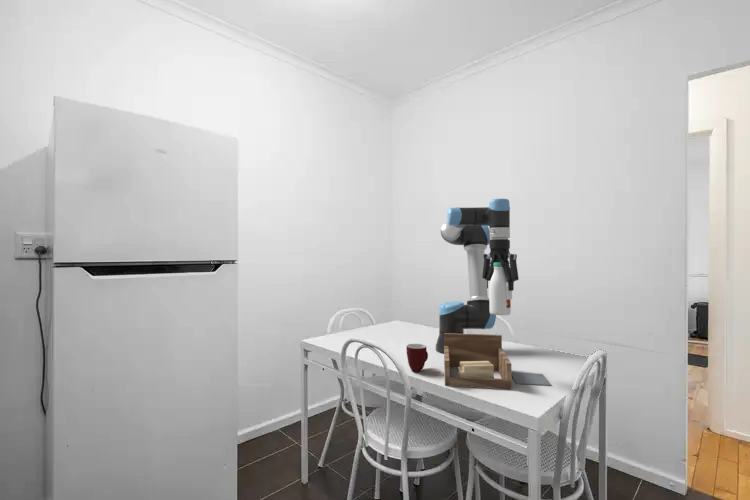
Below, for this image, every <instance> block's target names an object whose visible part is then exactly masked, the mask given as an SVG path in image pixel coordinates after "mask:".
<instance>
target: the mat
mask: <svg viewBox="0 0 750 500" xmlns="http://www.w3.org/2000/svg"><path fill="white" fill-rule="evenodd" d="M511 378H512V380H514V382H515V384H516V385H527V386H544V387H545V386H548V387H552V383H551V382H550V381H549V380H548V378H547V377H546V376H545V375H544V374H543V373H536V372H535V373H534V372H533V373H531V372H512V371H511Z"/></svg>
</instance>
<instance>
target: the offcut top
mask: <svg viewBox="0 0 750 500" xmlns="http://www.w3.org/2000/svg"><path fill="white" fill-rule="evenodd" d="M460 369H461V370H462V371H463V372H464V373H483V372H493V373H494V372H495V370H494V365H493V364H491V363H490V362H489V361H463V362H460Z"/></svg>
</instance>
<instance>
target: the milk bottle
mask: <svg viewBox="0 0 750 500" xmlns="http://www.w3.org/2000/svg"><path fill="white" fill-rule="evenodd" d="M493 266H494V273H493V275H492V278H491V280H490V290H489V297H488V298H489V301H490V314H493V315H496V316H509V315H511V311H512V310H511V308H512V307H511V306H512V305H511V303H512V302H511V300H512V299H509V300H506V282H507V281H508V280H507V277H506V275H505V272H504V269H503V266H502V265H501V263H499V262H494V263H493Z"/></svg>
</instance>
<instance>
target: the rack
mask: <svg viewBox="0 0 750 500" xmlns="http://www.w3.org/2000/svg"><path fill="white" fill-rule="evenodd" d="M443 354H444V355H443V356H444V359H443V361H444V363H443V364H444V366H443V367H444V386H447V387H448V386H449V387H464V388H466V387H467V388H479V389H480V388H484V389H500V390H512V389H513V387H512V375H511V372H512V362H511V361H510V359H509V357H508V356H507V354H506V353H505V351H504V349H503V335H502V334H488V333H487V334H486V333H485V334H483V333H464V334H459V333H444V353H443ZM463 361H489V362H490V363H491V364H493V365H494V371H498V373H499V375H500V378H497V377H496V378H495V377H494V378H478V377H459V376H458V375H450V368H451V369H458V367H460V362H463Z"/></svg>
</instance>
